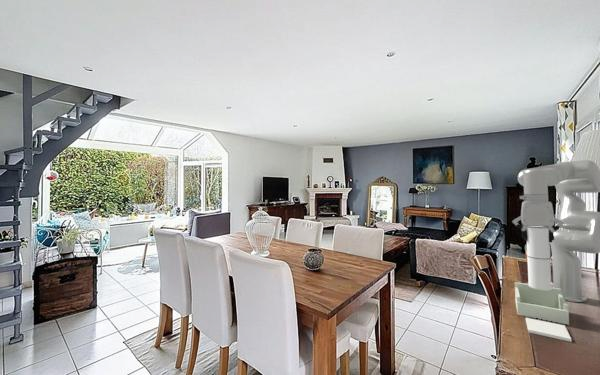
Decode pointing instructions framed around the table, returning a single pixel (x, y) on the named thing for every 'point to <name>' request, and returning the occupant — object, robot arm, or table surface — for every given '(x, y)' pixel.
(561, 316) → the frame
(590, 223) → the robot arm
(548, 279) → the cylindrical container
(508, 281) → the table surface
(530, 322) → the tile
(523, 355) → the table surface
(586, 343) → the table surface
